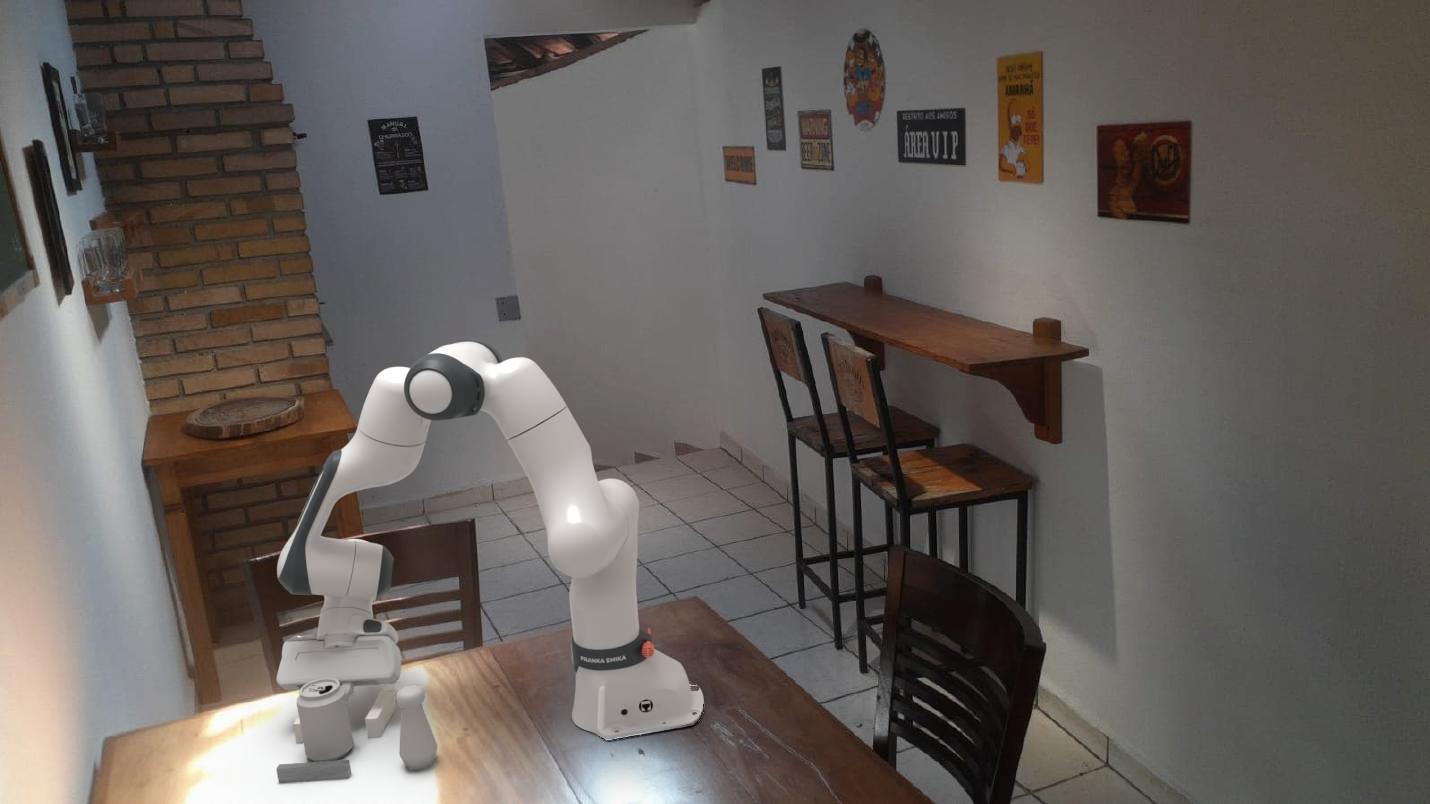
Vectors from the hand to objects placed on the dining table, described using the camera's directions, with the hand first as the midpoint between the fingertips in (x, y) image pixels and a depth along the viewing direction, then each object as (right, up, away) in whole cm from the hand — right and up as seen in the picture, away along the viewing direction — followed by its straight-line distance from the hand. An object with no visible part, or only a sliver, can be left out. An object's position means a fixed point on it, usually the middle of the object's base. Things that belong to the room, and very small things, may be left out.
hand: (334, 712), depth 180 cm
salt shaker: (+17, -6, -8) cm, 19 cm away
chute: (0, -4, +5) cm, 7 cm away
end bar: (+1, -7, -10) cm, 13 cm away
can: (0, -6, -3) cm, 7 cm away
